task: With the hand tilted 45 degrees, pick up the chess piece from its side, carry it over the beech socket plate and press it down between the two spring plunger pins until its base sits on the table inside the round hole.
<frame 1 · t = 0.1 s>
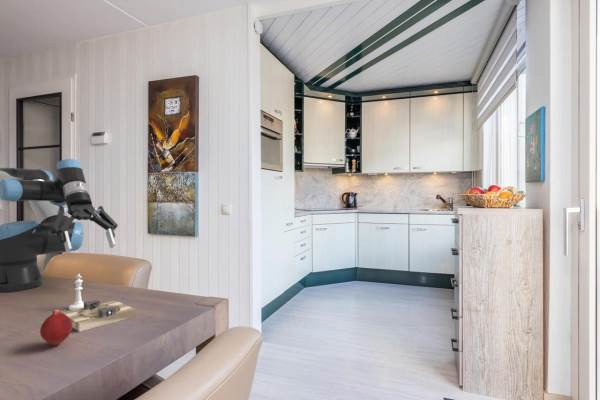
hand: (92, 248, 115), 15 cm above the table, tool tilted 35°, fingers open, 13 cm apart
plunger right: (106, 311, 90), point 3 cm above the table, slide at 0.0 cm
chess piece: (78, 308, 101), on the table
plunger left: (92, 305, 95), point 3 cm above the table, slide at 0.0 cm
onion: (56, 345, 76), on the table
socket plate: (99, 318, 92), on the table
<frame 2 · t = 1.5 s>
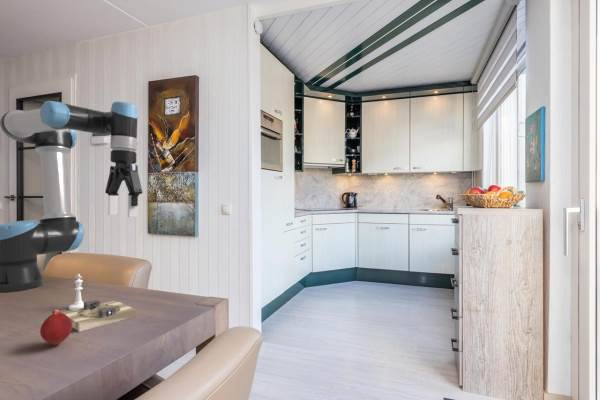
hand: (122, 215, 111), 27 cm above the table, tool pointing down, fingers open, 13 cm apart
nothing on the table moved.
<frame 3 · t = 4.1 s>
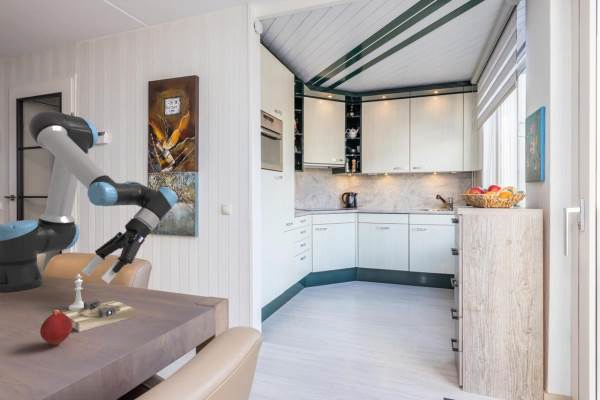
hand: (93, 277, 103), 8 cm above the table, tool tilted 45°, fingers open, 13 cm apart
nothing on the table moved.
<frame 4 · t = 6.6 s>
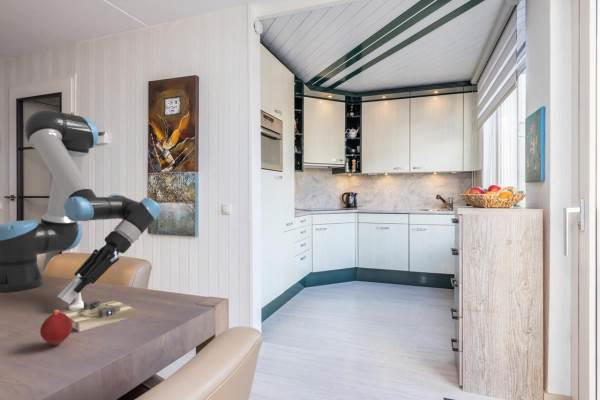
hand: (63, 300, 98), 3 cm above the table, tool tilted 45°, fingers closed on chess piece, 2 cm apart
chess piece: (78, 308, 101), on the table, touching gripper
everything else where it was.
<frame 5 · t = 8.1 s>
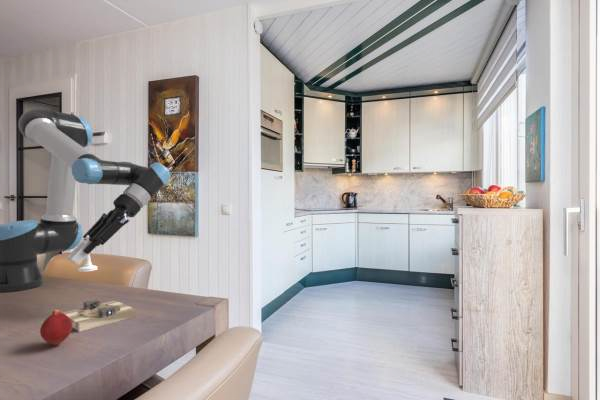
hand: (72, 261, 95), 15 cm above the table, tool tilted 45°, fingers closed on chess piece, 2 cm apart
chess piece: (87, 270, 98), point 12 cm above the table, touching gripper
everything else where it was.
when the fingers open (4 cm above the table, at t = 10.5 s): chess piece stays where it is, resting in socket plate.
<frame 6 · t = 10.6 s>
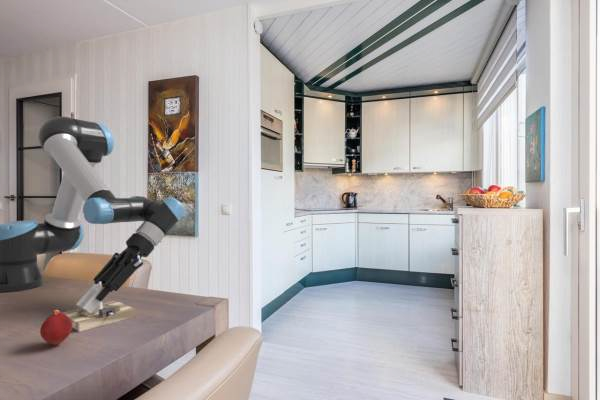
hand: (83, 308, 89), 4 cm above the table, tool tilted 45°, fingers open, 3 cm apart
plunger right: (108, 312, 89), point 3 cm above the table, slide at 1.2 cm
chess piece: (99, 318, 93), resting in socket plate
everything else where it was.
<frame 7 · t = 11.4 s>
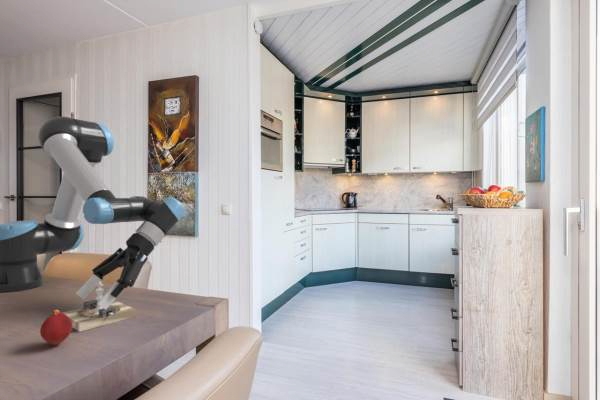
hand: (89, 301, 91), 5 cm above the table, tool tilted 45°, fingers open, 13 cm apart
nothing on the table moved.
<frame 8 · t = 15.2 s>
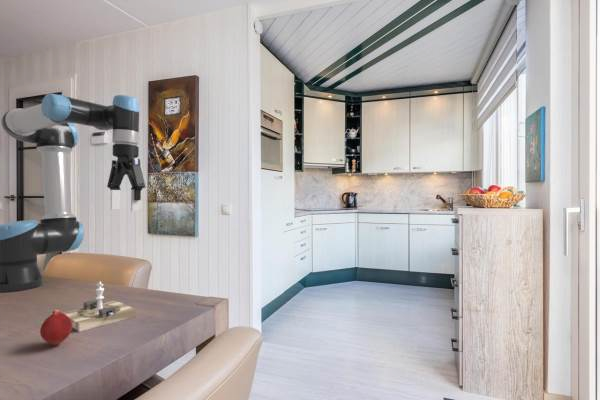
hand: (125, 210, 110), 29 cm above the table, tool pointing down, fingers open, 13 cm apart
nothing on the table moved.
at the end: chess piece 0.1 cm off-centre on the socket plate, point 0.0 cm above the socket plate's base; chess piece tilted 0°; the gripper is holding nothing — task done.
